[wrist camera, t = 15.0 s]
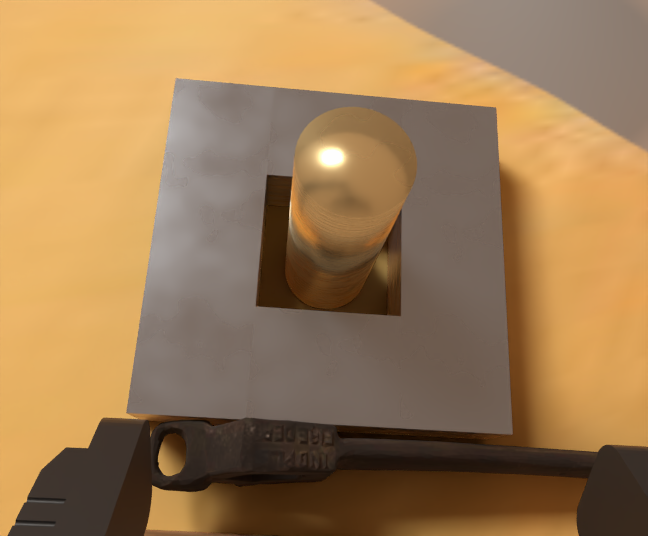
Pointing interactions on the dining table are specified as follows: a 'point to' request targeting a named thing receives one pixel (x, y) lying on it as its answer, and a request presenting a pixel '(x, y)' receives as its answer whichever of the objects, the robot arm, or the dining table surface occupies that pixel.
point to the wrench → (334, 455)
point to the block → (323, 326)
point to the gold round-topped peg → (344, 202)
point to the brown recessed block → (191, 533)
